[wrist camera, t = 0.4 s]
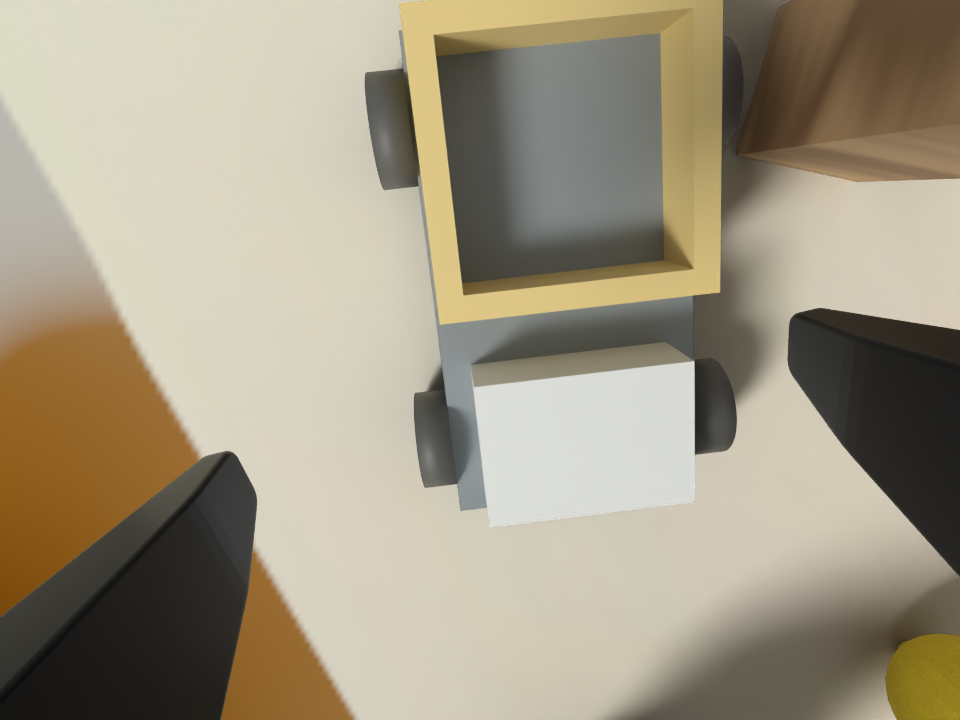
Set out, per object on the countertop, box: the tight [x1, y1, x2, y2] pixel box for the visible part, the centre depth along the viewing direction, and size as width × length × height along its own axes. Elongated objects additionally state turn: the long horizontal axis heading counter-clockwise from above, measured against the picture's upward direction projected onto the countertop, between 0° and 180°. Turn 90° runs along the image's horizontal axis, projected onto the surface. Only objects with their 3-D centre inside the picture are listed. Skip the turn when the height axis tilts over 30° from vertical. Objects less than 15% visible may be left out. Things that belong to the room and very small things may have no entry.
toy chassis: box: [365, 0, 743, 528], centre depth 20 cm, size 16×11×5 cm
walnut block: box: [736, 0, 960, 182], centre depth 16 cm, size 5×5×10 cm
